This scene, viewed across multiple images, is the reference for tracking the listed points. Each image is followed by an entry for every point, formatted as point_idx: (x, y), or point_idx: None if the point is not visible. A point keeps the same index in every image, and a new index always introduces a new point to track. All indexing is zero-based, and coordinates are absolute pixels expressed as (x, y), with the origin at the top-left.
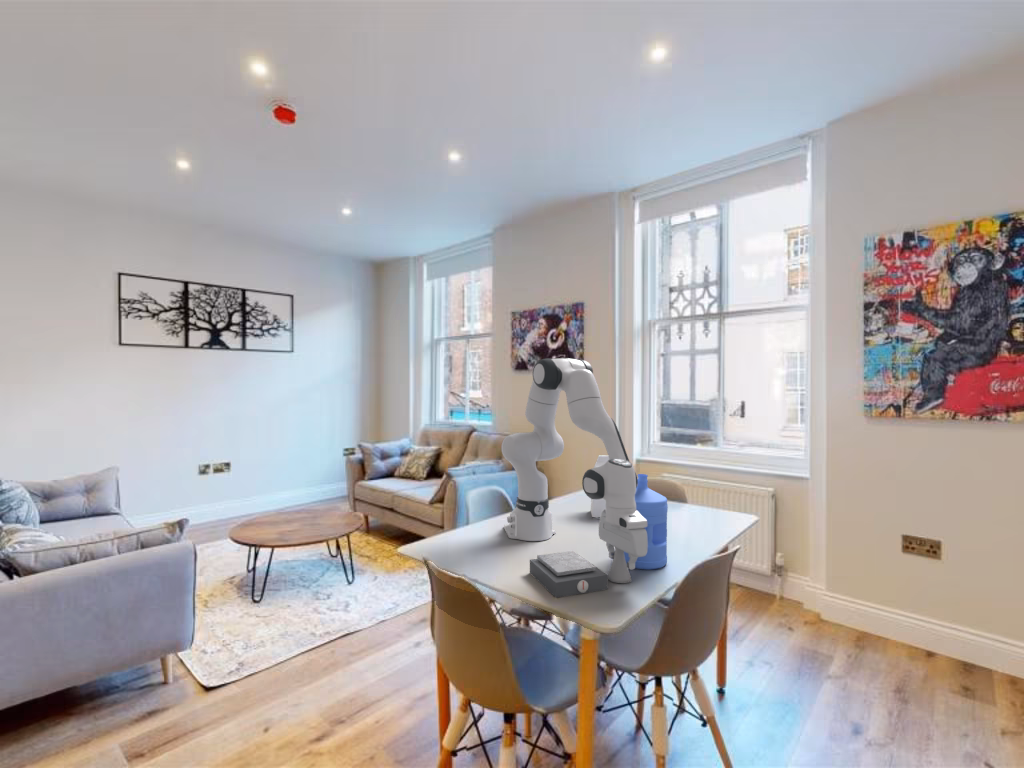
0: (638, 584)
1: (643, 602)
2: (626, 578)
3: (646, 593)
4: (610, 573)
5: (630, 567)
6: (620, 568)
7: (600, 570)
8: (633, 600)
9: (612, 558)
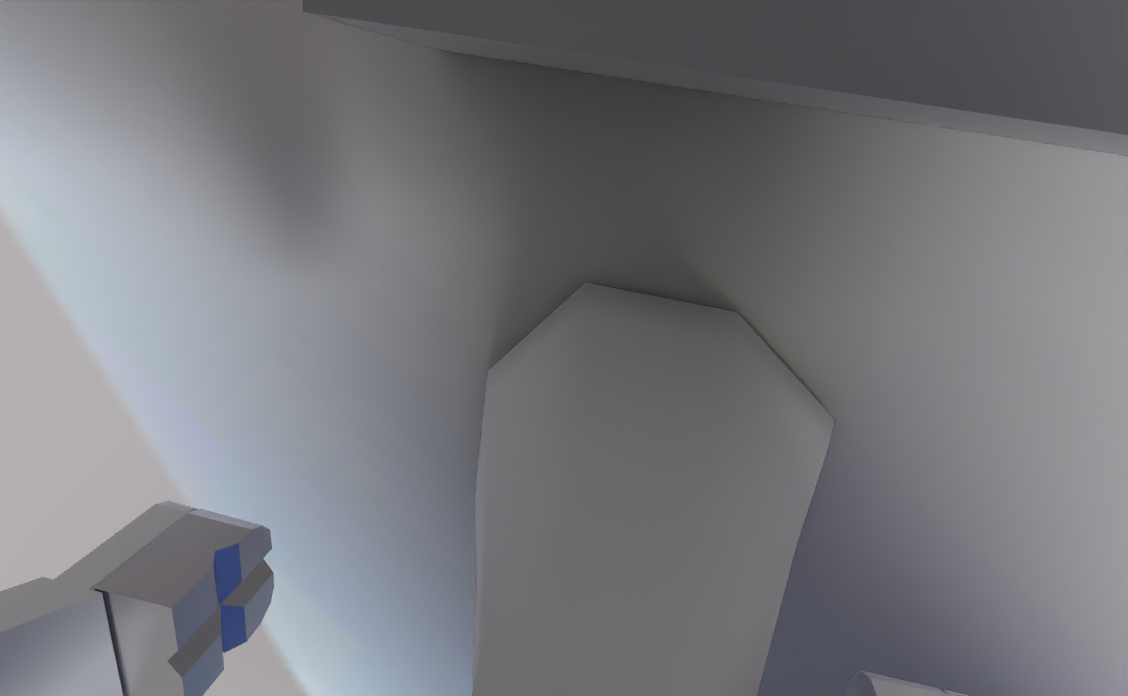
0: (409, 509)
1: (3, 203)
2: (480, 465)
3: (191, 403)
4: (676, 365)
5: (142, 528)
6: (497, 502)
7: (599, 26)
8: (60, 134)
9: (855, 686)
